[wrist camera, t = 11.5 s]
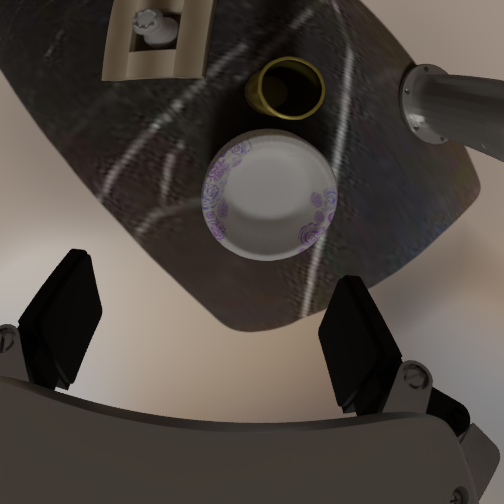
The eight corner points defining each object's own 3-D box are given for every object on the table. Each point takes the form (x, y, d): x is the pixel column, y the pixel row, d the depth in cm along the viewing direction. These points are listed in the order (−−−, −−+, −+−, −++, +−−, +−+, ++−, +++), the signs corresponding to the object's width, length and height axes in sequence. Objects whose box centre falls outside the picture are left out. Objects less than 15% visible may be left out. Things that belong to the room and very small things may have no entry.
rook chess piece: (175, 13, 23) (159, -7, 16) (186, 40, 25) (173, 25, 18) (141, 29, 23) (118, 14, 17) (152, 56, 26) (130, 46, 19)
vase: (248, 66, 28) (257, 44, 16) (297, 74, 29) (336, 61, 17) (241, 111, 31) (246, 119, 19) (290, 118, 32) (324, 132, 20)
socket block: (217, -4, 23) (215, -15, 19) (205, 78, 29) (201, 76, 25) (126, 2, 21) (115, -7, 18) (114, 81, 27) (101, 80, 24)
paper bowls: (316, 230, 41) (332, 259, 34) (212, 235, 40) (208, 266, 33) (322, 126, 33) (344, 134, 26) (202, 128, 32) (194, 137, 25)
